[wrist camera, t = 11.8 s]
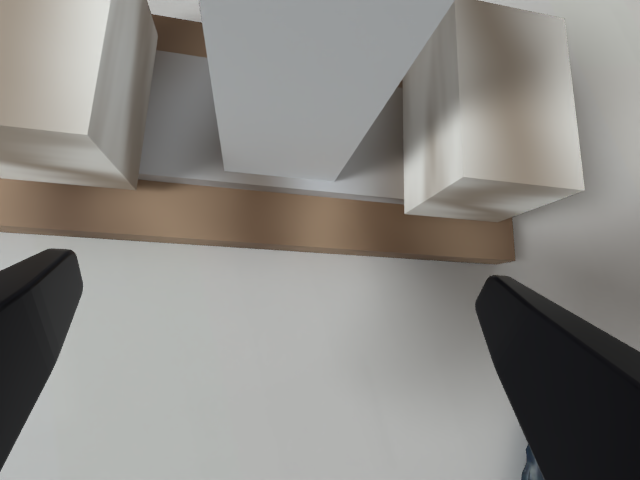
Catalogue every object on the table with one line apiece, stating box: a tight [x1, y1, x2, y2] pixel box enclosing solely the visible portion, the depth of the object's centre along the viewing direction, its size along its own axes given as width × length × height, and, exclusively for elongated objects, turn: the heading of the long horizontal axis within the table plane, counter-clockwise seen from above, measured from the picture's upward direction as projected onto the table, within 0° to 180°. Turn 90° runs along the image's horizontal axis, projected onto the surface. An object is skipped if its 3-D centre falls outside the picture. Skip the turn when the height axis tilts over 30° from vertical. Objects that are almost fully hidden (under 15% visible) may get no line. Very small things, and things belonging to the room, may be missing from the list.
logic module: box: [199, 0, 455, 182], centre depth 12 cm, size 5×5×12 cm
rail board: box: [0, 0, 585, 264], centre depth 16 cm, size 25×11×7 cm, turn 88°
